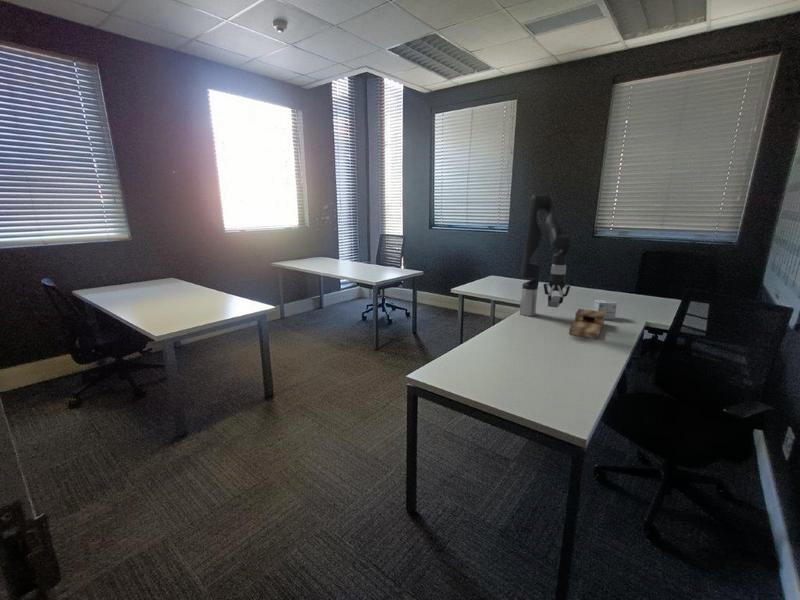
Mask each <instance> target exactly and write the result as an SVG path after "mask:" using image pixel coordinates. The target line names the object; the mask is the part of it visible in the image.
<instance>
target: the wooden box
mask: <svg viewBox="0 0 800 600" xmlns="http://www.w3.org/2000/svg"><path fill="white" fill-rule="evenodd" d="M604 315H605V312H600V311H594V310H591V309H584V308H578V310H577V311H576V312H575V317H574V321H573V323H572V325H571V326H570V328H569V330H568V331H569V332H568V335H569V334H570V336H575V335H576V336H577V337H581V336H582V338H587V337H589V338H590V339H594V338H595V339H594V340H598V339H599V337H600V334H601V332H600V331H602V329H603V326H604V322H605V319H604ZM576 336H575V337H576Z"/></svg>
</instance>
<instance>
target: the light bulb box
mask: <svg viewBox="0 0 800 600" xmlns="http://www.w3.org/2000/svg"><path fill="white" fill-rule="evenodd" d="M617 305H618V302H616V301H614V300H610V299H609V300H605V299H603V300H601V299H599V300H598V299H597V300H596V299H595V300H594V307H593V311H600V312H605V315H604V320H616V313H617Z"/></svg>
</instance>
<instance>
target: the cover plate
mask: <svg viewBox="0 0 800 600" xmlns="http://www.w3.org/2000/svg"><path fill="white" fill-rule="evenodd" d="M560 297H561V296H560V295H558V296H557V295H553V296H551V299H550V300H549V301H548V300H547V308H548V307H550V308H558V307H560V305H561V304H560Z"/></svg>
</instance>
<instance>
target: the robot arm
mask: <svg viewBox="0 0 800 600" xmlns="http://www.w3.org/2000/svg"><path fill="white" fill-rule="evenodd" d="M528 206H529V207H528V220H527V222H528V223H527V230H526V234H525V235H526V236H525V245H524V253H523V258H522V263H521V269H520V277H521V278H523V279H530V280H529V281H528V280H527V281H526V282H524V283H522V291H521V299H520V301H519V302H520V303H519V304H520V306H519V314H520V313H521V314H520V315H522V316H525V315H526V317H534V316H536V315H537V314H536V312H537V302H538V301H537V300H538V299H537V298H538V288H539V283H540V275H541V266H540V264H539V263H537V262H531V263H530V261H531V259H532V257H533V255H534V254H535V253H536V252H537V250H539V248H540V247H541V244H542V242H543V234H544V233H543V229H542V227H541V225H540V224H539V221H538V212H540V211H545V212H546V218H545V221H544V222H545V223H544V226H545V228H546V230H547V233H548V236H549V243H550V247H551V248H553V249H554V250H559V252H556V253H553V255H552V259H551V262H552V263H551V267H550V278H549V282H548V283H546V282H545V283H544V284H543V291H544V294H545V295H546V296H547V302H548V301H549V300H550V299H551V298H552V297H553V296H552V294H553V292H559V296H560V305H561V304H563V303H564V297H567V296H568V295H569V292H570V290H571V285H568V284H566V274H567V260H568V259H567V258H568V255H569V253H570V250H571V247H572V246H573V245H572V244H573V241H572V238H571V236H570V235H562V233H563V228H562V225H561V223H560V221H559V220H558V218H557V214H556V209H555V206H554V203H553V200H552V197H551V196H550V195H549V194H547V193H543V194H541V193H540V194H538V193H537V194H532V196H531V197H530V199H529V205H528ZM548 287H550V290H548ZM563 289H565V293H564V290H563Z"/></svg>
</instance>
